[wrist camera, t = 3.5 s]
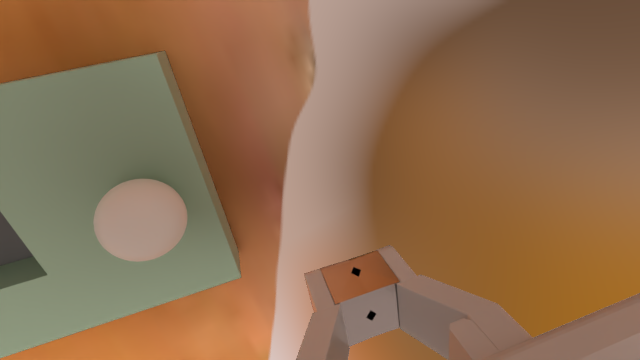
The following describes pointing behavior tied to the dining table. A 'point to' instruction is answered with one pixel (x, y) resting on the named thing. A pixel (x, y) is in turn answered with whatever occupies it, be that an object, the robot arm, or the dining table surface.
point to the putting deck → (97, 198)
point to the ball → (140, 220)
